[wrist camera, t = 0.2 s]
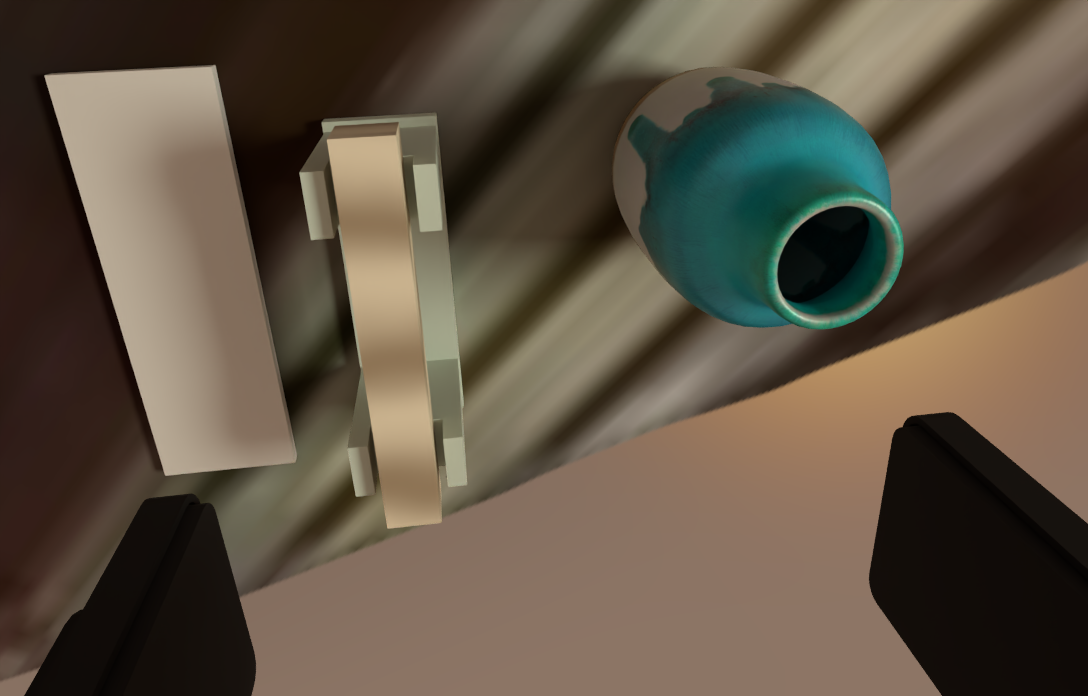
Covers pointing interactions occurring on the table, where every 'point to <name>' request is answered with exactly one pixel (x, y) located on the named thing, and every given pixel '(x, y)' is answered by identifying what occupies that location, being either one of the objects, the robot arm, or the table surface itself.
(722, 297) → the vase
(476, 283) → the table surface
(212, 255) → the felt mat
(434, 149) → the cradle stand
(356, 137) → the rail
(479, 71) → the table surface
